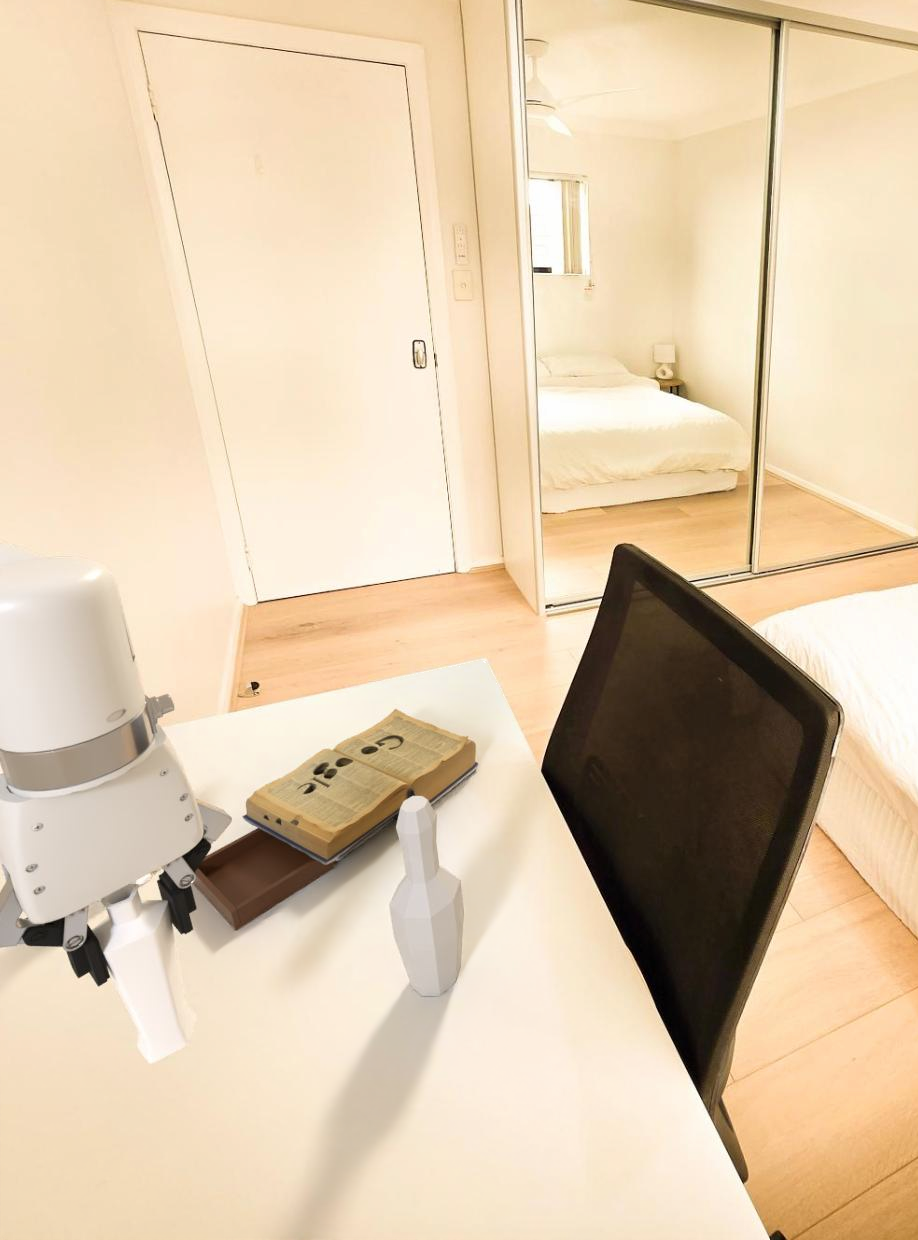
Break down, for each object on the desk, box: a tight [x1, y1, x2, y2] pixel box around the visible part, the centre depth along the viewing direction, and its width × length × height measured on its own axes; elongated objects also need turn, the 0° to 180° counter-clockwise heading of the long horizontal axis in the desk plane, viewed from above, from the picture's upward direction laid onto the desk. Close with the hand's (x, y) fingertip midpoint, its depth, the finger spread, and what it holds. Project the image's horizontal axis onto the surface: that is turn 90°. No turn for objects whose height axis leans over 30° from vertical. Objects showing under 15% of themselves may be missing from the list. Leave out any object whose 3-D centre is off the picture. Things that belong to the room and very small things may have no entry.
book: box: [242, 708, 479, 865], centre depth 95 cm, size 25×17×6 cm
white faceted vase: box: [91, 883, 198, 1064], centre depth 52 cm, size 5×4×15 cm
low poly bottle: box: [388, 796, 465, 997], centre depth 68 cm, size 6×6×22 cm
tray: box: [192, 827, 336, 931], centre depth 83 cm, size 11×11×3 cm
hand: (139, 945), depth 51 cm, fingers closed on white faceted vase, 4 cm apart
